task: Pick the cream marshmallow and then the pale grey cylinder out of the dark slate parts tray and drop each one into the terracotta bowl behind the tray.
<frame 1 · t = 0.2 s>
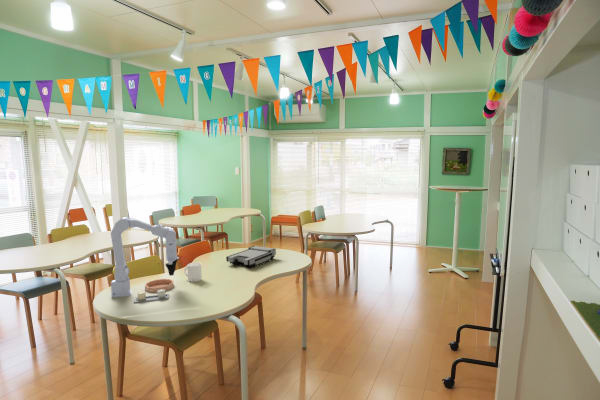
hand: (172, 273, 214), 10 cm above the table, tool pointing down, fingers open, 7 cm apart
parts tray: (151, 299, 200), on the table
cream marshmallow: (141, 300, 198), point 1 cm above the table, touching parts tray
game console: (252, 262, 272), on the table
mug: (192, 280, 233), on the table
bowl: (159, 288, 218), on the table
pale grey cylinder: (161, 297, 201), point 1 cm above the table, touching parts tray
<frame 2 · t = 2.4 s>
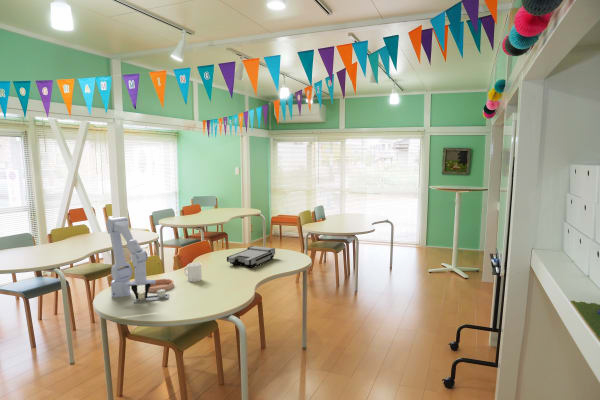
hand: (141, 298, 198), 2 cm above the table, tool pointing down, fingers closed on cream marshmallow, 4 cm apart
cream marshmallow: (141, 300, 198), point 1 cm above the table, touching gripper, parts tray
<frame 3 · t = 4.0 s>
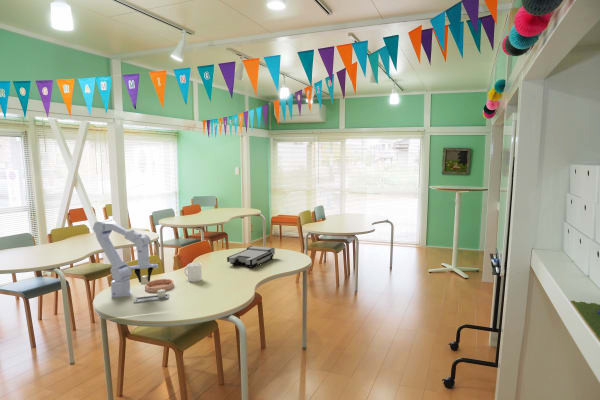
hand: (144, 281, 204), 9 cm above the table, tool pointing down, fingers closed on cream marshmallow, 4 cm apart
cream marshmallow: (144, 283, 204), point 8 cm above the table, touching gripper
everything else where it was.
when the fingers open (4 cm above the table, at t = 5.9 s): cream marshmallow drops 3 cm, resting on bowl.
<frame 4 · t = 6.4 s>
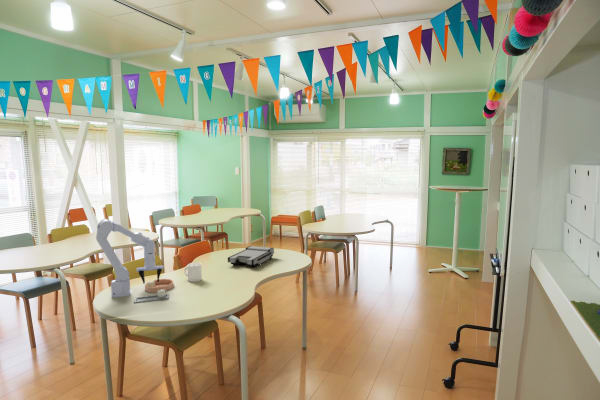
hand: (151, 282, 216), 4 cm above the table, tool pointing down, fingers open, 7 cm apart
cream marshmallow: (151, 288, 216), point 1 cm above the table, touching bowl
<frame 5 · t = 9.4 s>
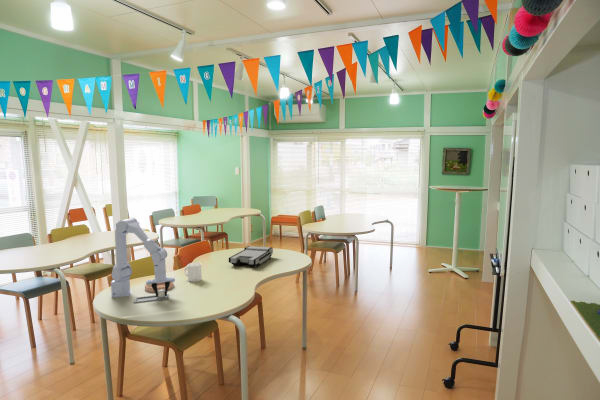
hand: (161, 295, 201), 2 cm above the table, tool pointing down, fingers closed on pale grey cylinder, 4 cm apart
pale grey cylinder: (161, 297, 201), point 1 cm above the table, touching gripper, parts tray
when the fingers open (4 cm above the table, at t = 12.8 s): pale grey cylinder drops 3 cm, resting on bowl.
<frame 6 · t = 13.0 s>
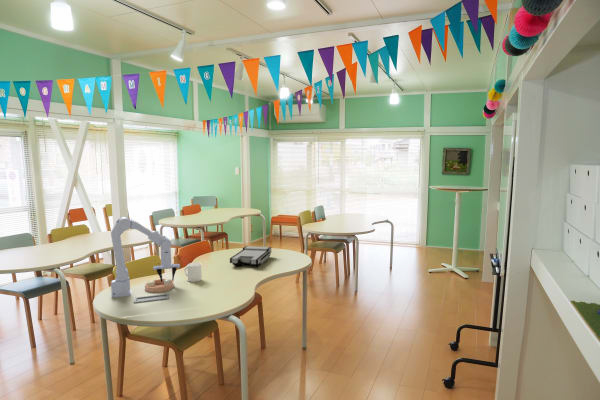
hand: (167, 280, 219), 4 cm above the table, tool pointing down, fingers open, 6 cm apart
pale grey cylinder: (167, 286, 219), point 1 cm above the table, touching bowl
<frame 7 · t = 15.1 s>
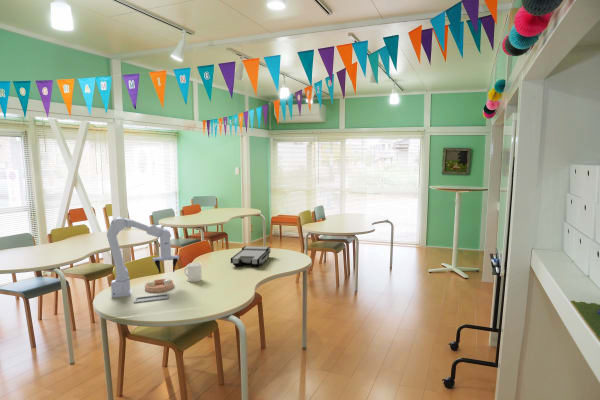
hand: (166, 272, 218), 9 cm above the table, tool pointing down, fingers open, 7 cm apart
at the end: cream marshmallow inside the target area on the bowl (4.5 cm from its centre), point 0.6 cm above the bowl's base; pale grey cylinder inside the target area on the bowl (4.5 cm from its centre), point 0.6 cm above the bowl's base; the gripper is holding nothing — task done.
